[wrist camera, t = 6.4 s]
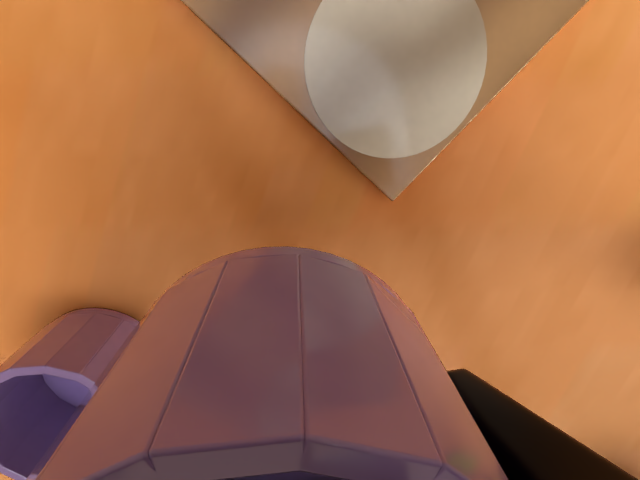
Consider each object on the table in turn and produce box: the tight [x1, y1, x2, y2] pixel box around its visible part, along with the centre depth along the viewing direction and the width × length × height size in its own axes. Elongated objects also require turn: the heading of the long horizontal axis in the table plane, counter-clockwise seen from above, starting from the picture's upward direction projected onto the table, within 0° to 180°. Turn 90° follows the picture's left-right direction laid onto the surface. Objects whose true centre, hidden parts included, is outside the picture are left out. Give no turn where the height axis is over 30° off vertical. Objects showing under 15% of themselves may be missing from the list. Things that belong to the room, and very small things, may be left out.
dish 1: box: [0, 308, 139, 480], centre depth 17 cm, size 6×6×4 cm
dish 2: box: [26, 247, 509, 480], centre depth 6 cm, size 6×6×4 cm
